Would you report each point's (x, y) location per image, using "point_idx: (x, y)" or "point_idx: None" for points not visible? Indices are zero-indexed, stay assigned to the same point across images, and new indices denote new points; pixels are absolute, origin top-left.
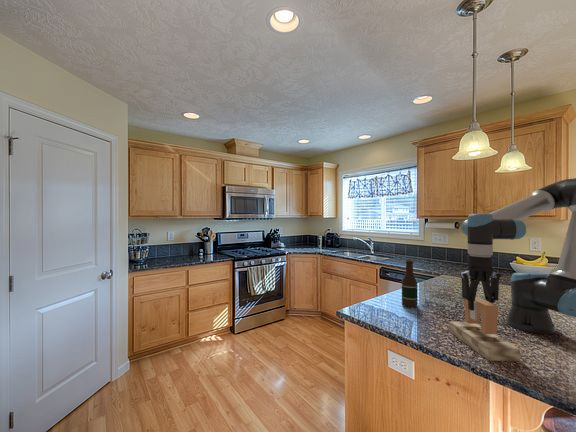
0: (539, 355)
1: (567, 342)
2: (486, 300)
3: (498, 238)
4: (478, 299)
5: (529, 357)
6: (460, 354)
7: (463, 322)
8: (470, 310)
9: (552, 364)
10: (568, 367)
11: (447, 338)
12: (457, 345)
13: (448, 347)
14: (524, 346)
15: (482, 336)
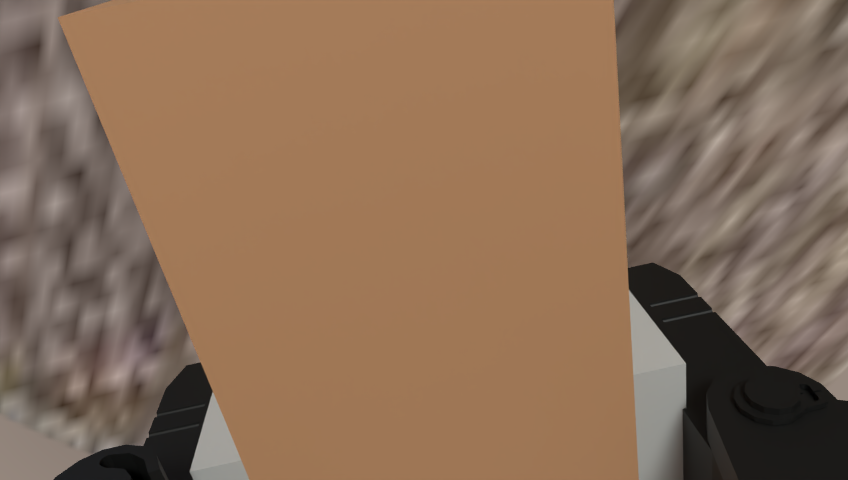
0: (801, 223)
1: None
2: (692, 425)
3: None
4: (454, 475)
5: (686, 280)
6: (127, 378)
7: None
8: None
9: (770, 343)
10: (844, 356)
11: (53, 50)
12: (137, 212)
13: (38, 279)
14: (822, 59)
15: None
